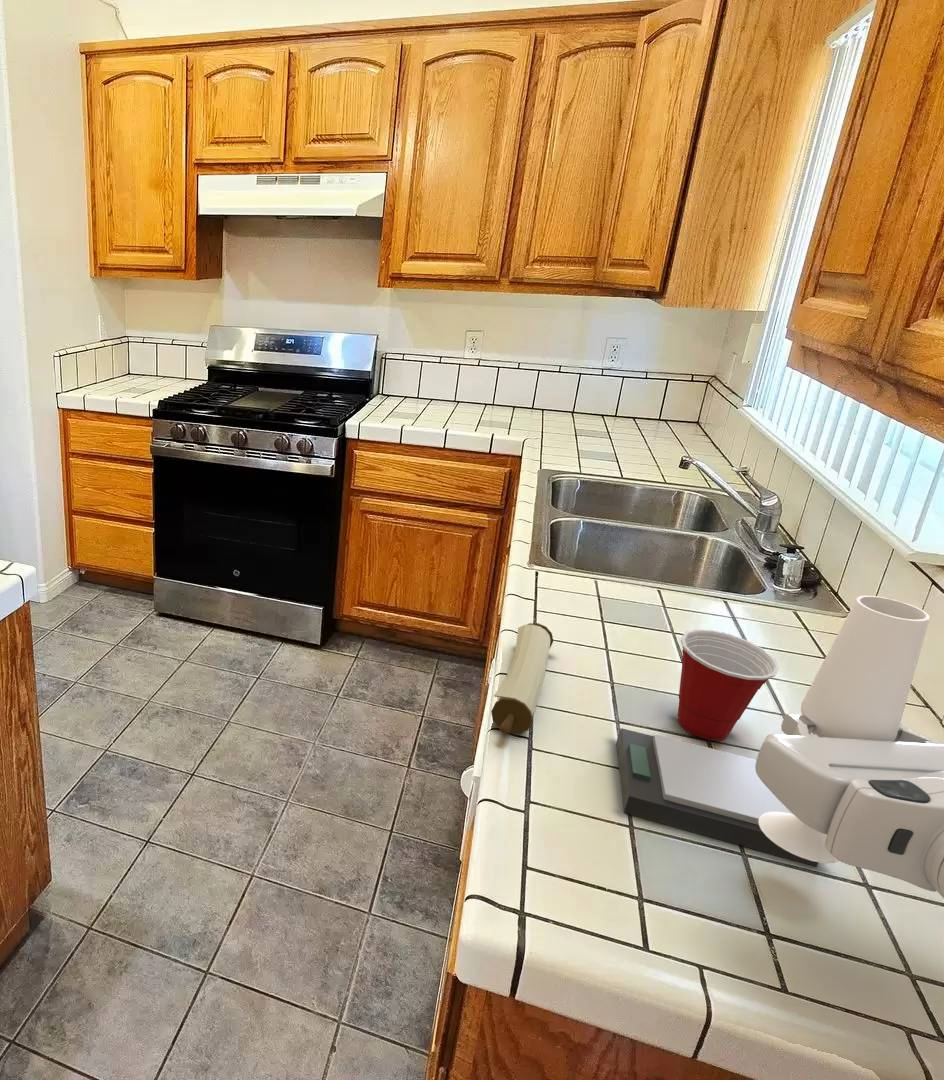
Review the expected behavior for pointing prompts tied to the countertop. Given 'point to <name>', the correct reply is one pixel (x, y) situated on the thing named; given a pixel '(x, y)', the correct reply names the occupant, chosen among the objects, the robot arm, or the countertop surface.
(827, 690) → the champagne flute
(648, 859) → the countertop surface
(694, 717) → the plastic cup
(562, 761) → the countertop surface
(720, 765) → the kitchen scale
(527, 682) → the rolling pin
